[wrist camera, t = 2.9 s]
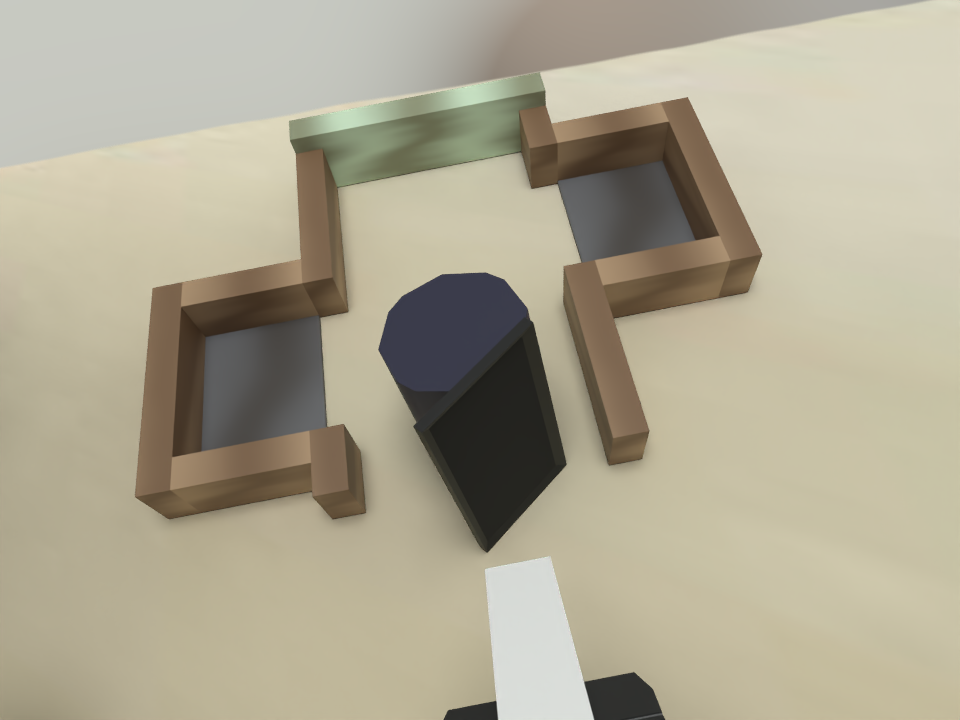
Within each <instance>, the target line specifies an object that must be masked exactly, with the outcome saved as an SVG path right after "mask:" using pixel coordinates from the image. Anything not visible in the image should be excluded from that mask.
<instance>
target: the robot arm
mask: <svg viewBox="0 0 960 720" xmlns="http://www.w3.org/2000/svg"><path fill="white" fill-rule="evenodd" d="M485 576H486V588H487V599H488V610H489V622H490V633H491V644H492V655H493V667H494V678H495V689H496V701H494V702H489V703H483V704H478V705H473V706H468V707H463V708H458V709H452V710H448V712H447V714H446V716H445V718H444V720H665V718H664V716H663V715H662V711H661V708H660V706H659V703H658V701H657V698H656V696H655V693H654V691H653V689H652V688H651V687H650V686H649V685H648V684H647V683H645V682H644V681H643V680H642V679H641V678H640V677H639V676H638V675H637V674H636V673H634V672H633V673H628V674H623V675H618V676H612V677H607V678H602V679H597V680H592V681H587V682H584V680H583V677H582V673H581V669H580V665H579V662H578V658H577V654H576V650H575V647H574V643H573V639H572V636H571V632H570V628H569V624H568V621H567V617H566V613H565V609H564V606H563V602H562V598H561V595H560V591H559V587H558V583H557V580H556V576H555V572H554V568H553V565H552V561H551V557H550V556H548V557H543V558H538V559H533V560H528V561H523V562H518V563H513V564H508V565H502V566H497V567H492V568H487V569H485Z"/></svg>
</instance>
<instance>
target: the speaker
mask: <svg viewBox="0 0 960 720" xmlns="http://www.w3.org/2000/svg"><path fill="white" fill-rule="evenodd" d="M378 350H379V352H380V354H381V355H382V357H383V359H384V361H385V363H386V365H387V367H388V369H389V371H390V373H391V375H392V376H393V378H394V380H395V382H396V384H397V386H398V388H399V390H400V392H401V394H402V395H403V397H404V399H405V401H406V403H407V405H408V407H409V409H410V411H411V413H412V414H413V416H414V418H415V420H416V422H417V423H416V424H415V425H414V428H415V430H416V432H417V434H418V435H419V437H420V439H421V441H422V443H423V444H424V446H425V448H426V450H427V452H428V453H429V455H430V457H431V459H432V461H433V462H434V464H435V466H436V468H437V470H438V471H439V473H440V475H441V477H442V479H443V481H444V482H445V484H446V486H447V488H448V490H449V491H450V493H451V495H452V497H453V499H454V500H455V502H456V504H457V506H458V508H459V509H460V511H461V513H462V515H463V517H464V518H465V520H466V522H467V524H468V526H469V527H470V529H471V531H472V533H473V535H474V536H475V538H476V540H477V542H478V544H479V545H480V547H481V548H482V549H483V550H484V551H486V552H488V551H489V550H490V549H491V548H492V547H493V546H494V544H495V543H496V542H497V541H498V540H499V539H500V538H501V537H502V536H503V534H504V533H505V532H506V531H507V530H508V529H509V528H510V527H511V526H512V524H513V523H514V522H515V521H516V520H517V519H518V518H519V517H520V516H521V514H522V513H523V512H524V511H525V510H526V509H527V508H528V507H529V506H530V504H531V503H532V502H533V501H534V500H535V499H536V498H537V497H538V496H539V494H540V493H541V492H542V491H543V490H544V489H545V488H546V487H547V486H548V484H549V483H550V482H551V481H552V480H553V479H554V478H555V477H556V475H557V474H558V473H559V472H560V471H561V470H562V469H563V468H564V467H565V465H566V460H565V455H564V451H563V447H562V443H561V438H560V434H559V430H558V426H557V421H556V417H555V413H554V409H553V404H552V400H551V396H550V392H549V387H548V383H547V379H546V375H545V370H544V366H543V362H542V358H541V353H540V348H539V345H538V341H537V336H536V332H535V328H534V324H533V322H532V321H530V318H529V313H528V309H527V307H526V306H525V305H524V303H523V302H522V301H521V300H520V298H519V297H518V296H517V295H516V294H515V292H514V291H513V290H512V289H511V287H510V286H509V285H508V284H507V282H506V281H505V280H504V279H501V278H499V277H496V276H493V275H491V274H488V273H464V274H442V275H440V276H438V277H436V278H435V279H433V280H431V281H429V282H427V283H425V284H424V285H422V286H420V287H418V288H416V289H415V290H413V291H411V292H409V293H407V294H405V295H404V296H402V297H401V298H400V300H399V301H398V302H397V303H396V304H395V305H394V307H393V308H392V309H391V310H390V311H389V312H388V316H387V320H386V323H385V327H384V331H383V334H382V338H381V342H380V346H379V349H378Z"/></svg>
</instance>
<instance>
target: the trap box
mask: <svg viewBox="0 0 960 720" xmlns="http://www.w3.org/2000/svg"><path fill="white" fill-rule="evenodd" d="M289 130H290V141H291V144H292V146H293V148H294V151H295V153H296V168H297V188H298V209H299V229H300V250H301V259H300V260H295V261H290V262H285V263H280V264H274V265H269V266H264V267H259V268H254V269H249V270H244V271H238V272H233V273H228V274H223V275H218V276H213V277H208V278H202V279H197V280H192V281H187V282H182V283H177V284H171V285H166V286H161V287H156V288H153V291H152V303H151V314H150V326H149V338H148V349H147V361H146V373H145V385H144V396H143V408H142V420H141V432H140V443H139V455H138V467H137V479H136V490H135V497H136V498H137V499H139V500H140V501H142V502H143V503H145V504H146V505H148V506H150V507H151V508H153V509H154V510H156V511H157V512H159V513H160V514H162V515H163V516H165V517H166V518H168V519H171V518H176V517H181V516H187V515H192V514H197V513H202V512H207V511H212V510H217V509H223V508H228V507H233V506H238V505H243V504H248V503H253V502H258V501H264V500H269V499H274V498H279V497H284V496H289V495H294V494H300V493H305V492H310V491H312V496H313V498H314V499H315V500H316V501H317V502H318V503H319V504H320V505H321V507H322V508H323V509H324V510H325V511H326V512H327V513H328V514H329V516H330V517H331V518H332V519H336V518H341V517H346V516H351V515H356V514H361V513H366V509H365V498H364V486H363V475H362V463H361V452H360V450H359V448H358V446H357V445H356V443H355V442H354V440H353V438H352V437H351V435H350V434H349V432H348V430H347V429H346V427H345V425H344V424H341V425H336V426H331V427H327V421H326V405H325V389H324V373H323V357H322V341H321V325H320V317H323V316H329V315H334V314H339V313H344V312H348V304H347V293H346V281H345V270H344V259H343V247H342V236H341V224H340V213H339V202H338V190H337V187H341V186H346V185H351V184H356V183H361V182H366V181H372V180H377V179H382V178H387V177H392V176H397V175H402V174H408V173H413V172H418V171H423V170H428V169H433V168H438V167H444V166H449V165H454V164H459V163H464V162H469V161H475V160H480V159H485V158H490V157H495V156H500V155H505V154H511V153H516V152H522V156H523V159H524V163H525V166H526V170H527V173H528V177H529V181H530V184H531V188H536V187H542V186H547V185H552V184H557V183H558V186H559V189H560V192H561V196H562V199H563V202H564V206H565V209H566V212H567V215H568V219H569V222H570V225H571V228H572V232H573V235H574V238H575V242H576V245H577V248H578V251H579V255H580V258H581V261H582V263H578V264H573V265H567V266H564V292H563V303H564V306H565V310H566V313H567V317H568V321H569V324H570V328H571V331H572V335H573V339H574V342H575V346H576V349H577V353H578V356H579V360H580V364H581V367H582V371H583V374H584V378H585V382H586V385H587V389H588V392H589V396H590V400H591V403H592V407H593V410H594V414H595V417H596V421H597V425H598V428H599V432H600V435H601V439H602V443H603V446H604V450H605V453H606V457H607V460H608V464H609V465H613V464H618V463H623V462H628V461H634V460H639V459H642V457H643V453H644V449H645V445H646V442H647V438H648V434H649V429H648V425H647V422H646V419H645V416H644V413H643V410H642V407H641V403H640V400H639V397H638V394H637V391H636V388H635V385H634V381H633V378H632V375H631V372H630V369H629V366H628V363H627V359H626V356H625V353H624V350H623V347H622V344H621V341H620V337H619V334H618V331H617V328H616V325H615V322H614V319H613V318H617V317H622V316H627V315H632V314H637V313H643V312H648V311H653V310H658V309H663V308H668V307H673V306H679V305H684V304H689V303H694V302H699V301H704V300H709V299H715V298H720V297H725V296H730V295H735V294H740V293H745V292H748V290H749V287H750V285H751V282H752V280H753V277H754V274H755V272H756V269H757V267H758V264H759V262H760V259H761V257H762V253H761V250H760V248H759V246H758V244H757V242H756V240H755V238H754V236H753V234H752V231H751V229H750V227H749V225H748V223H747V221H746V219H745V217H744V215H743V212H742V210H741V208H740V206H739V204H738V202H737V200H736V198H735V196H734V194H733V191H732V189H731V187H730V185H729V183H728V181H727V179H726V177H725V175H724V172H723V170H722V168H721V166H720V164H719V162H718V160H717V158H716V156H715V153H714V151H713V149H712V147H711V145H710V143H709V141H708V139H707V137H706V135H705V132H704V130H703V128H702V126H701V124H700V122H699V120H698V118H697V116H696V113H695V111H694V109H693V107H692V105H691V103H690V101H689V99H688V97H687V98H682V99H677V100H671V101H666V102H661V103H656V104H651V105H646V106H641V107H635V108H630V109H625V110H620V111H615V112H610V113H604V114H599V115H594V116H589V117H584V118H579V119H574V120H568V121H563V122H558V123H553V124H551V121H550V118H549V114H548V111H547V108H546V101H545V88H544V85H543V82H542V79H541V76H540V72H539V73H534V74H529V75H524V76H519V77H514V78H508V79H503V80H498V81H493V82H488V83H483V84H478V85H472V86H467V87H462V88H457V89H452V90H447V91H441V92H436V93H431V94H426V95H421V96H416V97H411V98H405V99H400V100H395V101H390V102H385V103H380V104H375V105H369V106H364V107H359V108H354V109H349V110H344V111H338V112H333V113H328V114H323V115H318V116H313V117H308V118H302V119H297V120H292V121H289Z"/></svg>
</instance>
